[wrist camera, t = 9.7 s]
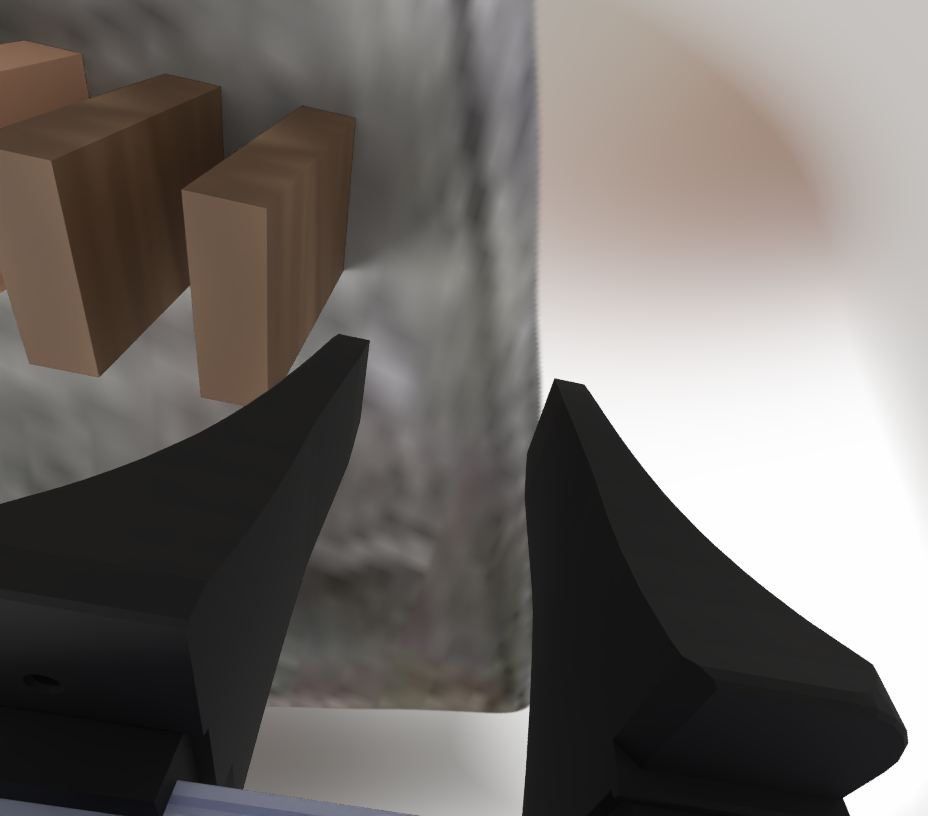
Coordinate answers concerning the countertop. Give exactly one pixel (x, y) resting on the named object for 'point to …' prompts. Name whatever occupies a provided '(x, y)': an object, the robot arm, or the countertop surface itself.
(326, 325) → the countertop surface
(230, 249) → the domino
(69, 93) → the domino
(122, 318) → the domino
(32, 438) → the countertop surface
